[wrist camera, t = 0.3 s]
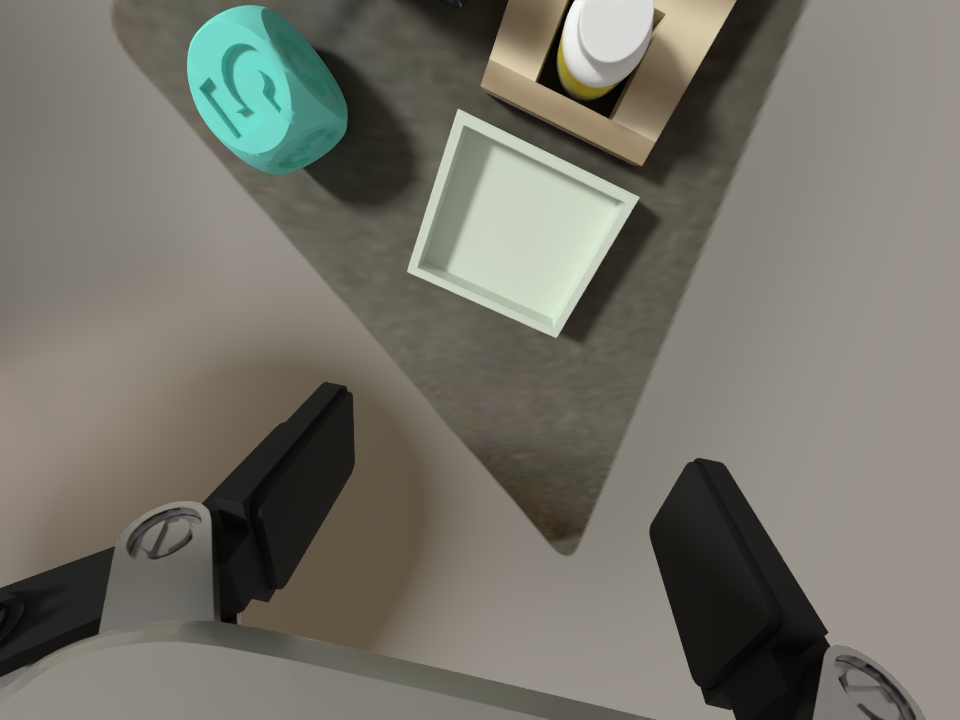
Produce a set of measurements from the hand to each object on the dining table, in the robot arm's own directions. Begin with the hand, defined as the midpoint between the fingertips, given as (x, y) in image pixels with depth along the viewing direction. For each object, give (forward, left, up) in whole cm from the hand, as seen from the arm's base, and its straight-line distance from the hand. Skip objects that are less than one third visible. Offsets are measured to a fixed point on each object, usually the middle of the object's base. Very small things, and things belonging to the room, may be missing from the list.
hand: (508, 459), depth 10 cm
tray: (-1, -2, -30) cm, 30 cm away
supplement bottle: (-15, -2, -30) cm, 33 cm away
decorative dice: (-3, -24, -30) cm, 38 cm away
